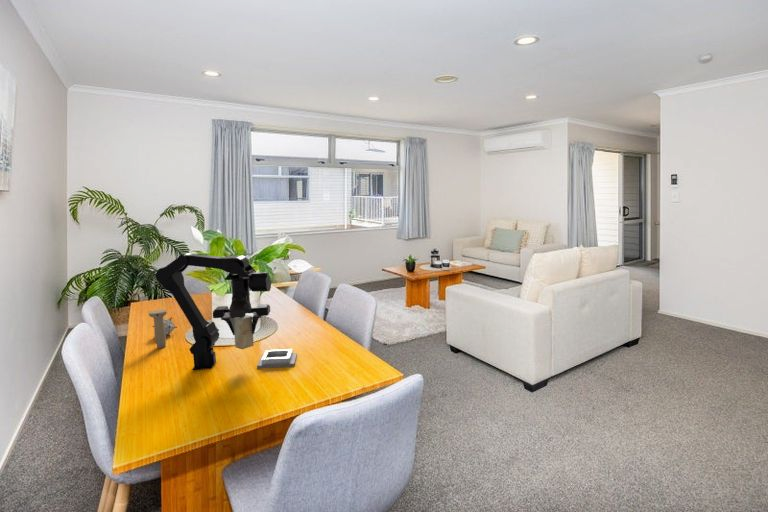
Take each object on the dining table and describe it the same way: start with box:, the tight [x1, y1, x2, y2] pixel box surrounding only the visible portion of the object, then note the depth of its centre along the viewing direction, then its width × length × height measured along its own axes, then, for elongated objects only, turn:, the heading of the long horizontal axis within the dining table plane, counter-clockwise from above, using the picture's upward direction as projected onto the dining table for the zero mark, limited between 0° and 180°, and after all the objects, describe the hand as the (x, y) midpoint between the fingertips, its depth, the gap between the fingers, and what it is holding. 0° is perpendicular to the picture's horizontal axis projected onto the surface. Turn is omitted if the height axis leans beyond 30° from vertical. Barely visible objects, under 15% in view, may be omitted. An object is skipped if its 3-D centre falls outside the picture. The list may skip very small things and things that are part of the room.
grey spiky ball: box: [151, 317, 178, 337], centre depth 187 cm, size 9×8×10 cm
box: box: [233, 314, 255, 350], centre depth 151 cm, size 5×4×11 cm
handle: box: [148, 309, 168, 349], centre depth 172 cm, size 5×6×15 cm
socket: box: [256, 348, 298, 369], centre depth 156 cm, size 13×10×3 cm
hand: (243, 334), depth 151 cm, fingers closed on box, 6 cm apart
